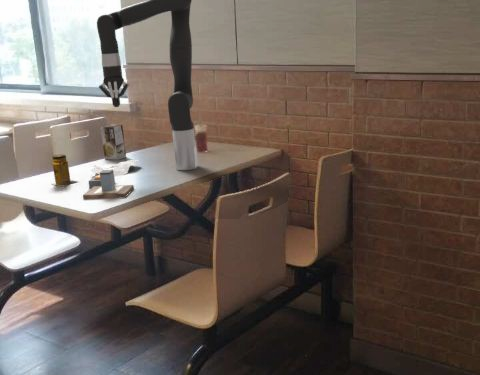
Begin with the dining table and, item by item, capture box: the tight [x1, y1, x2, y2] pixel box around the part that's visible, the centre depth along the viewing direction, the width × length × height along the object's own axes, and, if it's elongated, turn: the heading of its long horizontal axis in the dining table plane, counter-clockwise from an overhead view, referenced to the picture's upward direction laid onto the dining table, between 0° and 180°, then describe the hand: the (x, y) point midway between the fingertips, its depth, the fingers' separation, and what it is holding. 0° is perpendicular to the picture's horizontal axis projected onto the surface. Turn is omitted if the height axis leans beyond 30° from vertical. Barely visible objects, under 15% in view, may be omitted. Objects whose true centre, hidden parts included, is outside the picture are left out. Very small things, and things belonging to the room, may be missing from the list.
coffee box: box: [100, 124, 127, 161], centre depth 288 cm, size 9×6×16 cm
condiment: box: [52, 154, 78, 187], centre depth 246 cm, size 7×8×12 cm
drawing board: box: [82, 184, 135, 200], centre depth 226 cm, size 16×12×2 cm
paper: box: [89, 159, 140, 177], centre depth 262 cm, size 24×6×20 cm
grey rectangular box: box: [100, 169, 116, 191], centre depth 225 cm, size 4×4×7 cm
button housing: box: [88, 175, 116, 189], centre depth 239 cm, size 8×8×3 cm
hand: (116, 106), depth 249 cm, fingers closed
